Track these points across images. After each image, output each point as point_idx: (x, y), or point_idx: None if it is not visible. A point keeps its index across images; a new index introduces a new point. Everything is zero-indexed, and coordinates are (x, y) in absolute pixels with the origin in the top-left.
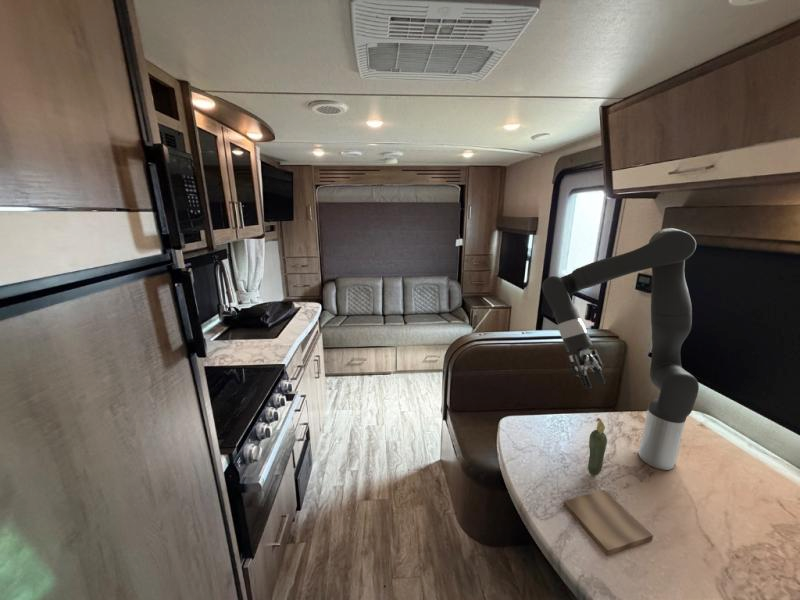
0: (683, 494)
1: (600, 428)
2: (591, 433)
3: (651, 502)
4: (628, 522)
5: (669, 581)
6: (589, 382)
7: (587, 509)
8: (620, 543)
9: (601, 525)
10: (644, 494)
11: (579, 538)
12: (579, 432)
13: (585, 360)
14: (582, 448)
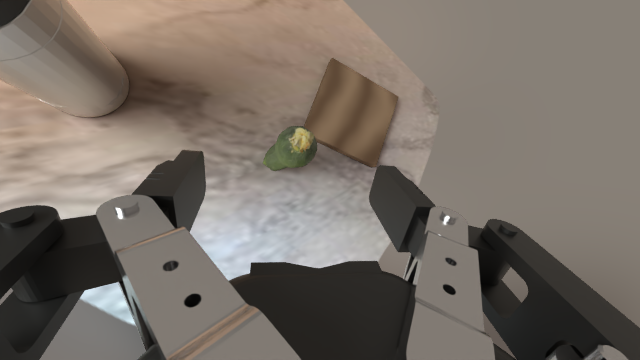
0: (177, 29)
1: (313, 135)
2: (307, 161)
3: (252, 71)
4: (337, 87)
5: (369, 41)
6: (401, 179)
7: (363, 136)
8: (378, 88)
9: (372, 113)
10: (241, 83)
11: (398, 130)
12: None
13: (481, 308)
14: (201, 212)
